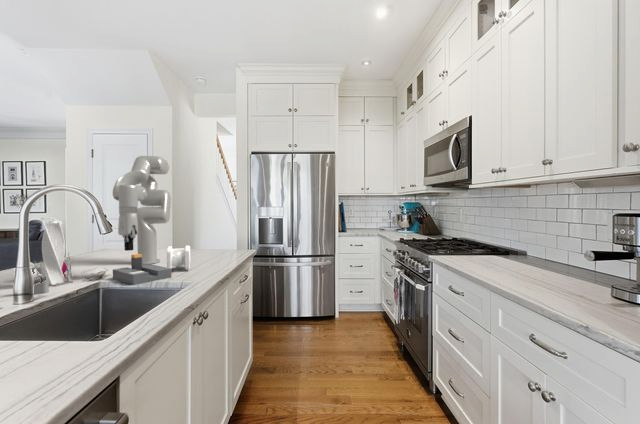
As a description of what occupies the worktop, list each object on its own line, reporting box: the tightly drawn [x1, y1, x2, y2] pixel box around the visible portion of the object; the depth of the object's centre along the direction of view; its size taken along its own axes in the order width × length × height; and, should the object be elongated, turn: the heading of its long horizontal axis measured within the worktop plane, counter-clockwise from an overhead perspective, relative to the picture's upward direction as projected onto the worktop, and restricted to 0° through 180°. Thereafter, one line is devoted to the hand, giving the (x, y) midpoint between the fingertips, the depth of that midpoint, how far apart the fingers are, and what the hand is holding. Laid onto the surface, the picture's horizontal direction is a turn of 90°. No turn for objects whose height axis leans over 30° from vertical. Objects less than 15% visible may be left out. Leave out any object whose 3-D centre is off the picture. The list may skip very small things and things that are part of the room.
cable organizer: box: [166, 244, 192, 271], centre depth 161 cm, size 15×11×12 cm
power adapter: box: [30, 260, 50, 295], centre depth 119 cm, size 3×5×12 cm, turn 108°
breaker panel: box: [112, 264, 172, 286], centre depth 142 cm, size 20×16×4 cm
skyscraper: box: [40, 216, 74, 287], centre depth 132 cm, size 8×8×28 cm
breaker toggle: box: [130, 253, 143, 271], centre depth 145 cm, size 3×3×8 cm
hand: (129, 250), depth 148 cm, fingers closed
